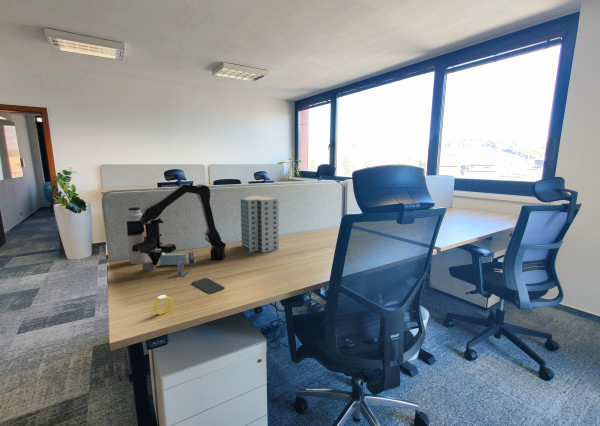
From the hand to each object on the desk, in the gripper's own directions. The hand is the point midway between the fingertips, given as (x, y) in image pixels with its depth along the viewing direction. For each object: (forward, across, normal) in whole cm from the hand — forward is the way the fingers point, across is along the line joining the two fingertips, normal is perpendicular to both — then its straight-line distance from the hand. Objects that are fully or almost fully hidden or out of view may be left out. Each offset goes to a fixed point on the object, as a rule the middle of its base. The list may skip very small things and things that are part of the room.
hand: (155, 265), depth 135 cm
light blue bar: (+2, +5, +7) cm, 9 cm away
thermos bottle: (+2, -15, +10) cm, 18 cm away
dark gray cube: (+2, -3, 0) cm, 4 cm away
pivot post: (+2, +13, +10) cm, 16 cm away
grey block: (+2, +15, -4) cm, 16 cm away
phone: (+3, +32, -14) cm, 35 cm away
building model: (+3, +39, +41) cm, 57 cm away
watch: (+2, +26, -36) cm, 45 cm away
